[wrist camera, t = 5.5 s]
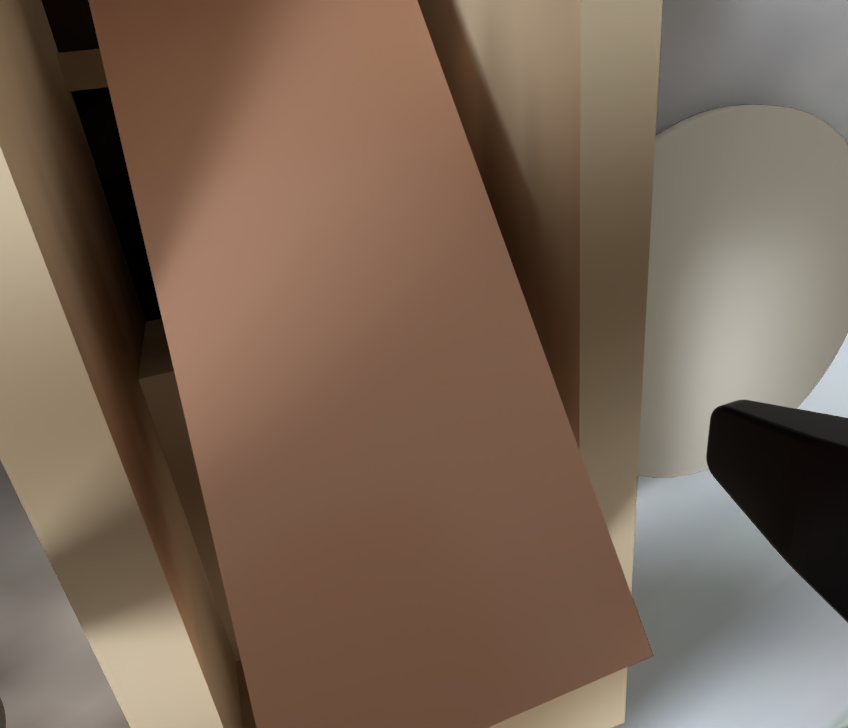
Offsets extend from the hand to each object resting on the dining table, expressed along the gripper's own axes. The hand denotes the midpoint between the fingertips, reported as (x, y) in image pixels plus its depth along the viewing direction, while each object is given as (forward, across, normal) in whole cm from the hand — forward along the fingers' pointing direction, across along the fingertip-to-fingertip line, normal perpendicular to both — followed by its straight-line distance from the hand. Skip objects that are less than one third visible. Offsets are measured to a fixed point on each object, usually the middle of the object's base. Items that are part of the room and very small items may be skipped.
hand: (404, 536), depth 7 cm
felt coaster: (+6, -10, +1) cm, 11 cm away
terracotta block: (+3, 0, -1) cm, 3 cm away
